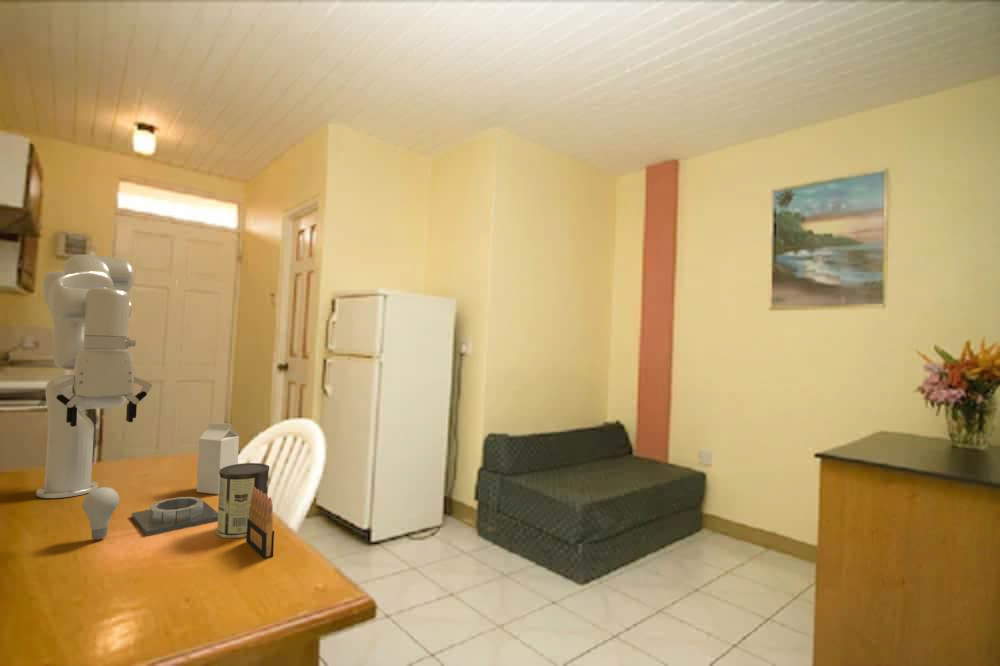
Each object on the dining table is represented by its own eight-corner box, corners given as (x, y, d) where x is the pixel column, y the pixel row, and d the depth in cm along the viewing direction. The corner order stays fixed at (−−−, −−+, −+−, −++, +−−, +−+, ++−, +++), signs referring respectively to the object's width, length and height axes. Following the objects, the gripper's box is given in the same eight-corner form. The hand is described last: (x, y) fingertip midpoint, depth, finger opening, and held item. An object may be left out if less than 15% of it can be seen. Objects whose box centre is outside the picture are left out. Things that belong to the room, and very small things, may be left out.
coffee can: (256, 518, 121) (259, 460, 121) (273, 530, 113) (276, 469, 114) (209, 528, 113) (212, 467, 113) (225, 542, 106) (228, 477, 106)
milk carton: (218, 495, 136) (221, 426, 136) (196, 492, 137) (199, 424, 138) (236, 487, 143) (240, 422, 143) (215, 485, 144) (219, 420, 145)
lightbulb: (76, 547, 101) (79, 493, 101) (84, 536, 106) (87, 485, 106) (113, 543, 103) (116, 490, 104) (120, 532, 109) (122, 482, 109)
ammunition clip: (273, 556, 100) (276, 497, 101) (263, 559, 99) (266, 499, 99) (255, 540, 108) (257, 485, 108) (245, 542, 107) (248, 486, 107)
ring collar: (131, 517, 118) (132, 502, 118) (202, 503, 129) (202, 490, 129) (146, 536, 107) (146, 520, 107) (221, 520, 118) (222, 505, 118)
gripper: (149, 345, 116) (146, 418, 116) (50, 344, 104) (46, 425, 103) (157, 345, 111) (154, 421, 111) (54, 343, 99) (50, 429, 98)
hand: (102, 423), depth 107 cm, fingers open, 9 cm apart
